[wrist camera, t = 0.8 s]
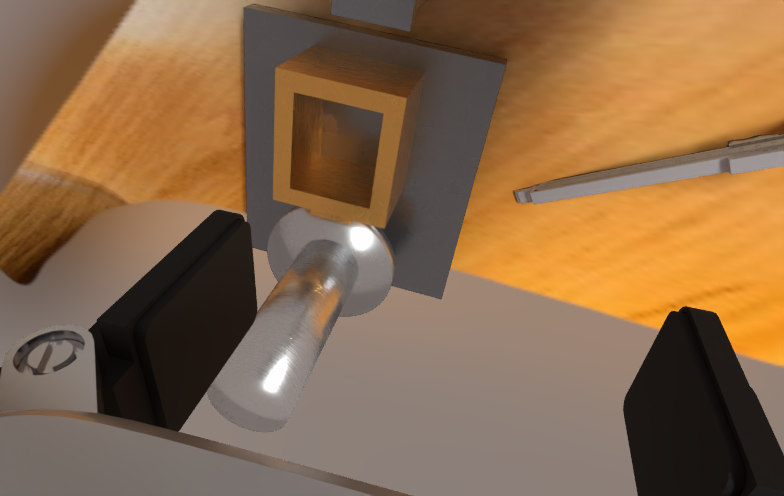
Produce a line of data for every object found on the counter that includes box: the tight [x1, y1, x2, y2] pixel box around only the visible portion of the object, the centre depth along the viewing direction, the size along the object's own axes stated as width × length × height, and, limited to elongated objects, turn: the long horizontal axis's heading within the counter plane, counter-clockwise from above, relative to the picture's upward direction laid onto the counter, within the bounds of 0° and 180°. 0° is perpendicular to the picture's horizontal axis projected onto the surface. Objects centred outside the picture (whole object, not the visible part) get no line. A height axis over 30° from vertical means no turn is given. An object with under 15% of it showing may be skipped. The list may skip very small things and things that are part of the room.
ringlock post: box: [207, 4, 507, 432], centre depth 33 cm, size 21×18×20 cm
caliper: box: [514, 134, 784, 204], centre depth 32 cm, size 20×1×6 cm, turn 114°
